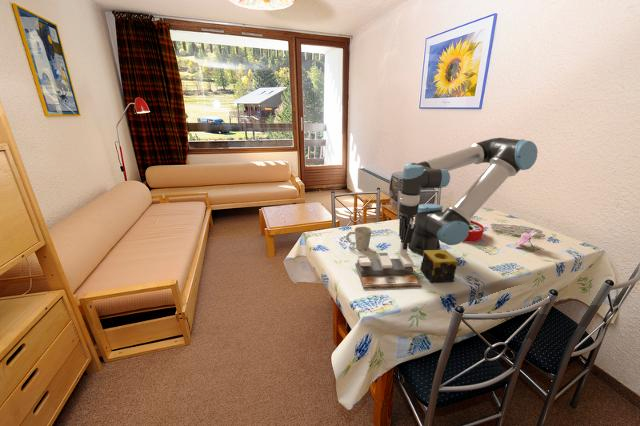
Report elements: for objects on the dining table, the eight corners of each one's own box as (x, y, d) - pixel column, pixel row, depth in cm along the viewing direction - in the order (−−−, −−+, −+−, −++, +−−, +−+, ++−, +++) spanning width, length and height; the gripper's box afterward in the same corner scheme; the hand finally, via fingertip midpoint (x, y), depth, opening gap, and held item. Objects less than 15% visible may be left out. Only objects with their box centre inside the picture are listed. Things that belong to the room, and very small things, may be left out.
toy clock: (467, 234, 141) (436, 221, 158) (465, 245, 143) (434, 231, 160) (492, 227, 150) (459, 216, 166) (489, 237, 152) (458, 225, 168)
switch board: (405, 263, 126) (405, 256, 124) (421, 286, 109) (422, 279, 108) (355, 265, 124) (355, 258, 123) (363, 289, 108) (364, 281, 106)
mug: (370, 252, 136) (371, 234, 132) (344, 250, 138) (345, 231, 135) (370, 244, 143) (371, 227, 140) (346, 242, 146) (347, 225, 142)
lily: (523, 242, 147) (516, 227, 146) (549, 242, 137) (542, 226, 135) (512, 255, 142) (505, 239, 141) (538, 256, 132) (531, 239, 130)
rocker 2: (406, 257, 122) (407, 252, 121) (413, 268, 115) (413, 263, 114) (397, 257, 122) (398, 252, 121) (403, 268, 115) (404, 263, 114)
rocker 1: (366, 261, 121) (366, 255, 121) (371, 267, 113) (371, 261, 113) (357, 261, 121) (357, 256, 121) (361, 268, 113) (361, 262, 113)
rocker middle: (386, 256, 122) (387, 252, 121) (391, 269, 115) (392, 265, 114) (377, 257, 122) (378, 252, 120) (382, 269, 115) (383, 265, 114)
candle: (419, 270, 120) (422, 250, 117) (441, 269, 121) (445, 248, 118) (430, 284, 111) (433, 262, 107) (454, 282, 112) (458, 261, 108)
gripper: (395, 198, 118) (389, 247, 126) (405, 208, 106) (399, 262, 114) (412, 198, 119) (405, 247, 127) (424, 208, 106) (417, 262, 114)
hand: (402, 254), depth 120 cm, fingers closed
